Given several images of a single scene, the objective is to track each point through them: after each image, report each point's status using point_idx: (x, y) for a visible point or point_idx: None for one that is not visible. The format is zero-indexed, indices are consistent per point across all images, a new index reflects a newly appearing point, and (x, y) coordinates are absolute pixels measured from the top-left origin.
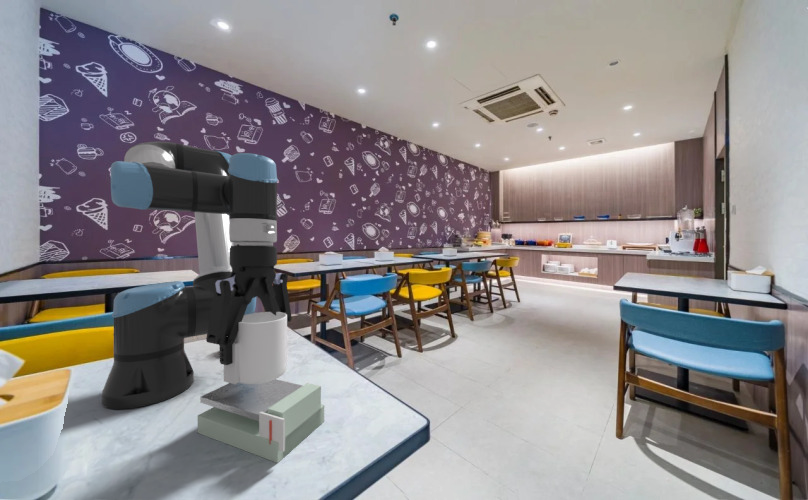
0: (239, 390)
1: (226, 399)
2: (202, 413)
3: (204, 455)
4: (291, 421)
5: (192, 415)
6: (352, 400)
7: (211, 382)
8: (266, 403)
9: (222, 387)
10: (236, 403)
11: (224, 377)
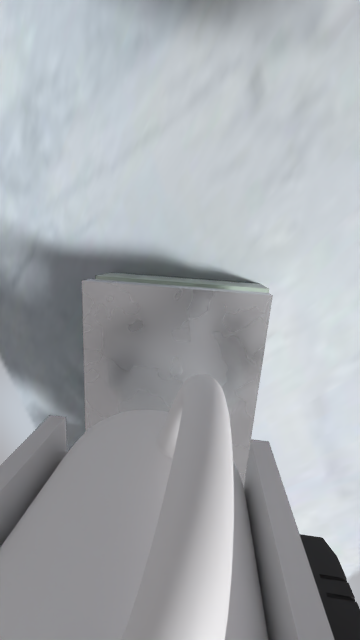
0: (154, 362)
1: (103, 367)
2: (106, 278)
3: (75, 348)
4: None
5: (154, 185)
6: (325, 507)
7: (336, 11)
8: None
9: (149, 294)
10: (98, 409)
11: (42, 426)
